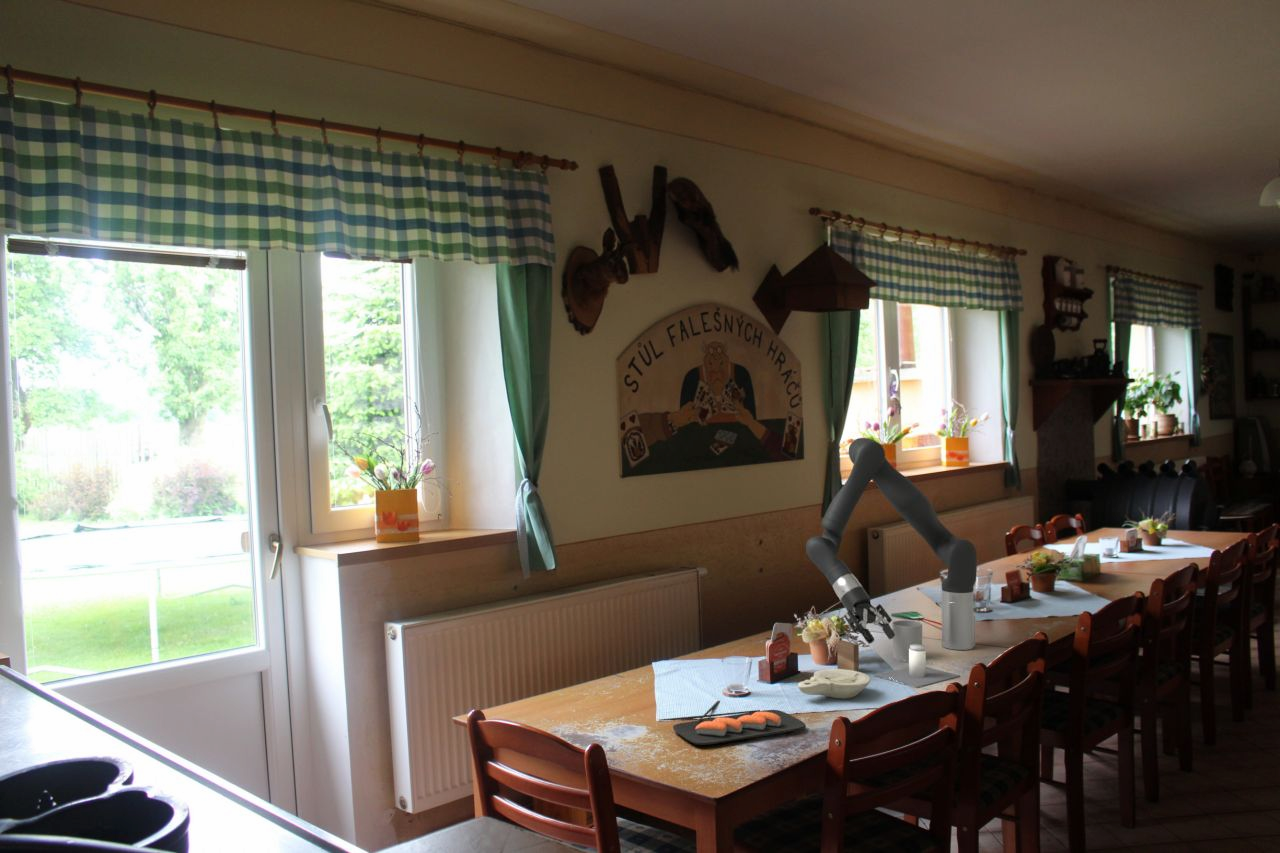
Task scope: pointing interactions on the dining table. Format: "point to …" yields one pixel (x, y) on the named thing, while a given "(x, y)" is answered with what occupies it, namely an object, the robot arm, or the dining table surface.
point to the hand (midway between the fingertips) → (882, 639)
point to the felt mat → (930, 677)
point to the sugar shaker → (917, 660)
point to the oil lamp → (835, 683)
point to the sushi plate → (735, 726)
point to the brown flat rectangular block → (848, 655)
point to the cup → (905, 637)
